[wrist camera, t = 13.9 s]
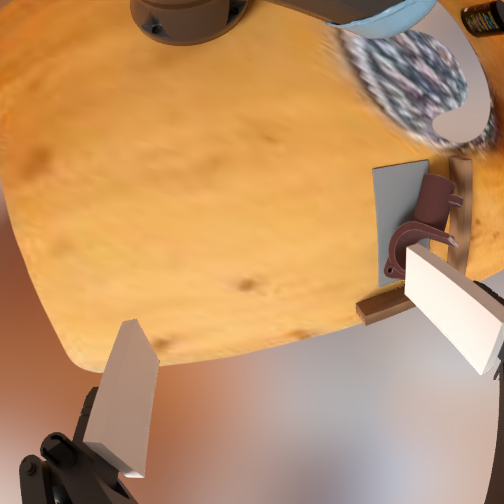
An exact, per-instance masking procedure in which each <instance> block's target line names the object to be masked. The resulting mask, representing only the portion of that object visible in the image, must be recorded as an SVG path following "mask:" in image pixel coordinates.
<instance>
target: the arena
mask: <svg viewBox="0 0 504 504" xmlns="http://www.w3.org/2000/svg"><path fill="white" fill-rule="evenodd" d="M449 165H450V181H452V182H453V183H454V184H455V188H454V193H453V195H457V196H460V197H462V198H463V199H464V200H463V204H462V208H458V207H455V206H451V207H450V232H449V235H452V236H453V237H454V240H455V241H456V242H457V243H458V244H459V246H458V247H454V246H451V245H449V247H448V258H447V263H448V264H449V265H451V266H452V267H454V268H455V269H456V270H458V271H459V272H460V273H462V274H463V275H464V276H465V274H466V267H467V260H468V252H469V243H470V232H471V217H472V160H471V159H467V158H462V157H458V156H453V157H449ZM413 307H416V305H415V304H414V303H413V302H412V301H411V300H410V299H409V298H408V297H407V296H406V295H405V286H404V287H401V288H399V289H396V290H393V291H391V292H388V293H385V294H382V295H379V296H376V297H374V298H371V299H368V300H365V301H362V302H359V303H356V313H357V314H358V316H359V317H360V318H361V320H362V321H363V323H364V324H365V325H366V326H367V325H369V324H372V323H375V322H377V321H380V320H383V319H386V318H388V317H391V316H393V315H396V314H398V313H401V312H403V311H406V310H408V309H410V308H413Z"/></svg>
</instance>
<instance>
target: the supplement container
mask: <svg viewBox="0 0 504 504" xmlns="http://www.w3.org/2000/svg"><path fill="white" fill-rule="evenodd" d="M461 18H462V21H463V24H464V26H465V27H466V29H467V30H468V31H469V32H470V33H471V34H472V35H473V36H475V37H478V38H481V37H488V36H496V35H504V2H502V1H501V0H496V1H491V2H487V3H483V4H479V5H475V6H471V7H467V8H464V9H463V10H462V11H461Z"/></svg>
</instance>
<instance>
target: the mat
mask: <svg viewBox="0 0 504 504" xmlns="http://www.w3.org/2000/svg"><path fill="white" fill-rule="evenodd" d="M372 173H373V182H374V192H375V203H376V216H377V233H378V262H379V287H381V286H384V285H387V284H390V283H393V282H396V281H398V280H400V279H391V278H387V277H386V276H385V275H384V267H385V264H386V261H387V258H388V255H389V254H388V247H389V242H390V239H391V237H392V235H393V233H394V232H395V231H396V229H397V228H399V227H400V226H401V225H403V224H405V223H407V222H411V221H412V219H413V215H414V212H415V208H416V204H417V200H418V196H419V192H420V188H421V184H422V179H423V175H424V174H429V164H428V160H425V161H418V162H412V163H405V164H399V165H393V166H388V167H382V168H376V169H372ZM417 243H419V244H420V245H422V246H423V247H425V248H426V249H428V250H429V247H430V239H429V238H426V239H422V240H420V241H418V242H417ZM417 243H416V244H417ZM392 272H393V269H392Z"/></svg>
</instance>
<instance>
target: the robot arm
mask: <svg viewBox="0 0 504 504" xmlns="http://www.w3.org/2000/svg"><path fill="white" fill-rule="evenodd" d="M263 1H267V2H270V3H274V4H277V5H280V6H283V7H286V8H289V9H292V10H295V11H298V12H301V13H304V14H306V15H309V16H312V17H314V18H317V19H319V20H322V21H324V22H325V23H326V24H327V25H330V26H332V27H337V28H343V29H345V30H348V31H350V32H352V33H354V34H357V35H359V36H361V37H364V38H369V39H376V38H382V39H384V38H389V37H392V36H395V35H398V34H400V33H402V32H404V31H406V30H408V29H410V28H411V27H413V26H414V25H415V24H417V23H418V22H419V21H421V20H422V19H423V18H424V17H425V16H426V15H427V14H428V13H429V12H430V11H431V10H432V8H433V7H434V6H435V4H436V2H437V1H438V0H263ZM247 4H248V0H130V10H131V14H132V17H133V19H134V21H135V23H136V24H137V26H138V27H139V28H140V30H141V31H142V32H143V33H144V34H145V35H147V36H148V37H149V38H151V39H153V40H155V41H157V42H160V43H163V44H167V45H174V46H190V45H197V44H201V43H205V42H208V41H211V40H213V39H216V38H218V37H220V36H222V35H223V34H225V33H226V32H228V31H229V30H231V29H232V28H233V27H234V26H235V25H236V24H237V23H238V22H239V21H240V19H241V18H242V16H243V15H244V13H245V10H246V8H247ZM405 295H406V296H407V297H408V298H409V299H410V300H411V301H412V302H413V303H414V304H415V305H416V306H417V307H418V308H419V309H420V310H421V311H423V313H424V314H425V315H426V316H427V317H428V318H429V319H430V320H431V321H432V322H433V323H434V324H435V325H436V326H437V327H438V328H439V329H440V331H441V332H443V334H444V335H445V336H446V337H447V338H448V339H449V340H450V341H451V342H452V343H453V344H454V346H455V347H456V348H457V349H458V350H459V351H460V352H461V353H462V354H463V356H464V357H465V358H466V359H467V360H468V361H469V363H470V364H471V365H472V366H473V367H474V368H475V369H476V370H477V372H478V373H479V374H480V375H483V374H484V373H486V372H487V371H488V370H490V369H491V368H493V366H494V364H495V361H496V359H497V357H498V358H499V359H500V360H501V363H500V365H499V367H498V369H497V371H496V373H495V375H494V380H496V378H497V376H498V374H499V376H500V377H499V380H500V396H499V420H498V431H497V441H496V449H495V456H494V462H493V468H492V473H491V478H490V483H489V487H488V492H487V495H486V500H485V503H484V504H504V299H503V298H501V297H499V296H498V294H496V293H495V292H493V291H492V290H491V289H490V288H489V287H487V286H486V285H485V284H482V283H480V282H478V281H473V282H472V281H471V280H470V279H469V278H467V277H466V276H464V275H463V274H462V273H460V272H459V271H458V270H456V269H455V268H454V267H452V266H451V265H449V264H448V263H447V262H445V261H444V260H442V259H441V258H439V257H438V256H437V255H435V254H434V253H432V252H431V251H429V250H428V249H426V248H425V247H423V246H422V245H420V244H419V243H417V244H414V245H411V246H408V247H407V249H406V278H405ZM159 362H160V360H159V359H158V357H157V355H156V354H155V352H154V350H153V348H152V346H151V345H150V343H149V341H148V339H147V337H146V336H145V334H144V332H143V330H142V328H141V326H140V324H139V322H138V320H137V319H133V320H128V321H124V322H122V325H121V327H120V330H119V332H118V335H117V338H116V340H115V343H114V346H113V348H112V351H111V354H110V356H109V359H108V362H107V365H106V368H105V370H104V373H103V376H102V379H101V382H100V385H99V387H93V388H92V390H91V391H90V392H89V394H88V395H87V396H86V399H85V402H84V405H83V409H82V411H81V416H80V417H79V421H78V424H77V427H76V430H75V433H74V437H73V440H72V441H71V440H69V439H68V438H67V437H66V436H65V435H64V434H62V433H60V432H54V433H52V434H49V435H48V436H47V437H46V438H45V439H44V441H43V442H42V445H41V448H40V452H41V456H42V457H44V458H45V459H46V460H47V461H42V460H41V459H40V458H39V457H37V456H35V455H28V456H26V457H25V458H24V459H23V461H22V462H21V464H20V468H19V475H20V487H21V496H22V504H56V503H55V501H56V502H57V504H138V503H137V501H136V500H135V499H134V497H133V496H132V495H131V494H130V492H129V491H128V489H127V488H126V487H125V485H124V484H123V483H122V481H120V479H119V478H118V472H121V473H122V474H123V475H125V476H126V477H137V478H144V476H145V464H146V454H147V445H148V436H149V429H150V421H151V413H152V406H153V399H154V393H155V386H156V380H157V374H158V368H159Z"/></svg>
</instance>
